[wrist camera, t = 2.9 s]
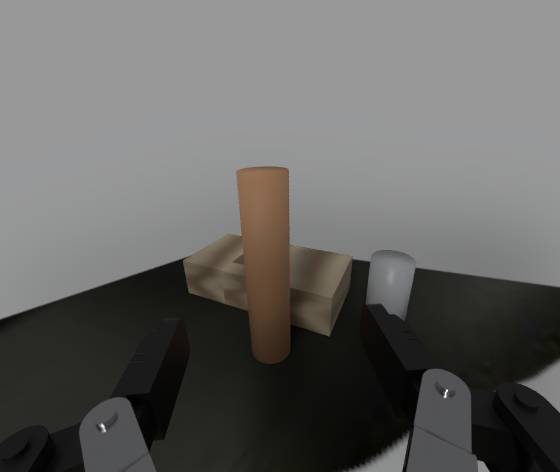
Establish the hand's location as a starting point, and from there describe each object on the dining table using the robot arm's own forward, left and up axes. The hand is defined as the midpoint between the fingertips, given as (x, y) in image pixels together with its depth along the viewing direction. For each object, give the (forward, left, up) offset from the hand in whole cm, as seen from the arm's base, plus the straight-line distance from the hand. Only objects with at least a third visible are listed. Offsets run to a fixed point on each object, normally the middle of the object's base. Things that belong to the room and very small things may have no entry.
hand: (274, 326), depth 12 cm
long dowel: (-6, +10, -13) cm, 17 cm away
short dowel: (+4, +17, -13) cm, 22 cm away
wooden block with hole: (-12, +19, -13) cm, 26 cm away
